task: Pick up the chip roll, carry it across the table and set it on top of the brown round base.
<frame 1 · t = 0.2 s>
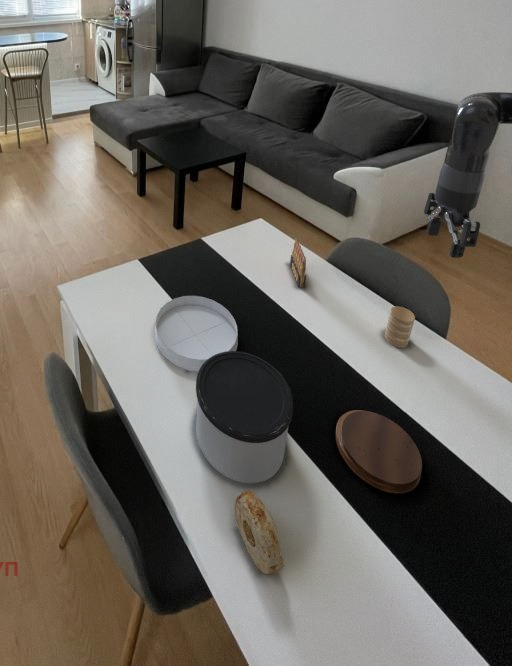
hand: (443, 245, 100), 32 cm above the table, tool pointing down, fingers open, 8 cm apart
brown round base: (375, 454, 88), on the table
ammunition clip: (296, 278, 137), on the table
bagel: (254, 548, 75), on the table
dish: (195, 339, 117), on the table
chip roll: (395, 341, 113), on the table
container: (238, 439, 92), on the table
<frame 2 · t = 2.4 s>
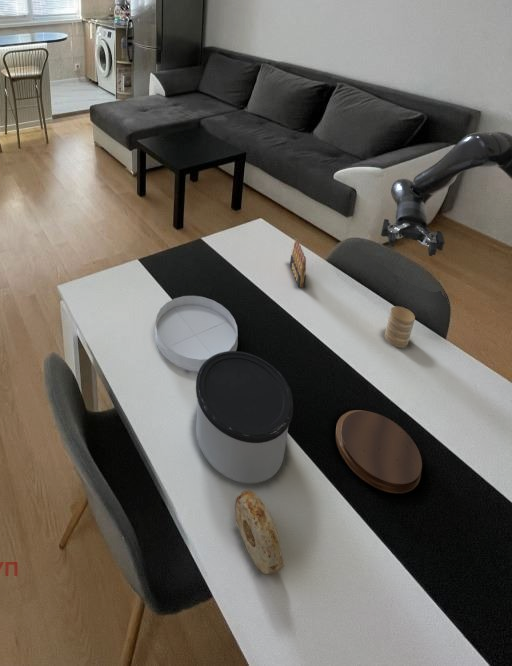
hand: (411, 248, 114), 22 cm above the table, tool horizontal, fingers open, 8 cm apart
nothing on the table moved.
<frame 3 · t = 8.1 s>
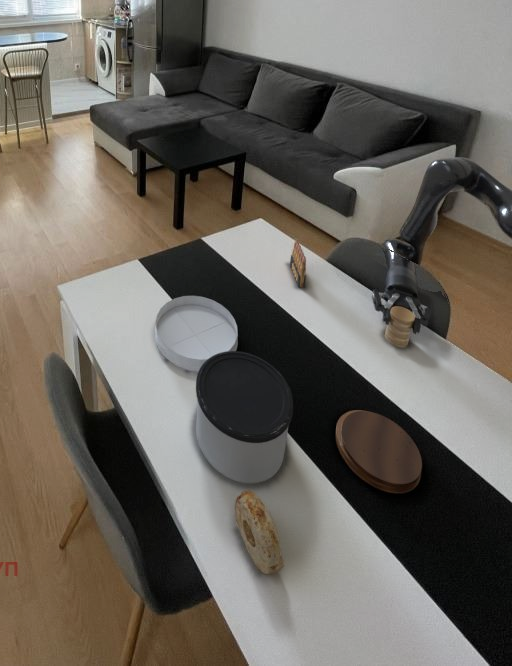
hand: (401, 326, 108), 8 cm above the table, tool horizontal, fingers closed on chip roll, 5 cm apart
chip roll: (395, 341, 113), on the table, touching gripper
everything else where it was.
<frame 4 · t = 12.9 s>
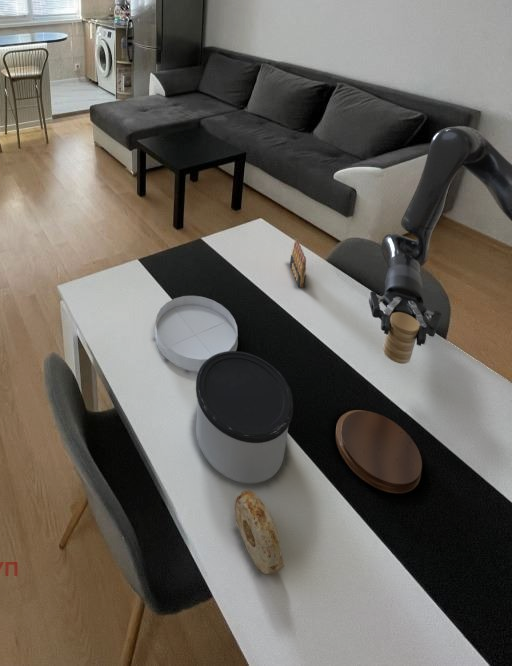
hand: (403, 336, 91), 20 cm above the table, tool horizontal, fingers closed on chip roll, 5 cm apart
chip roll: (396, 353, 95), point 12 cm above the table, touching gripper
everything else where it was.
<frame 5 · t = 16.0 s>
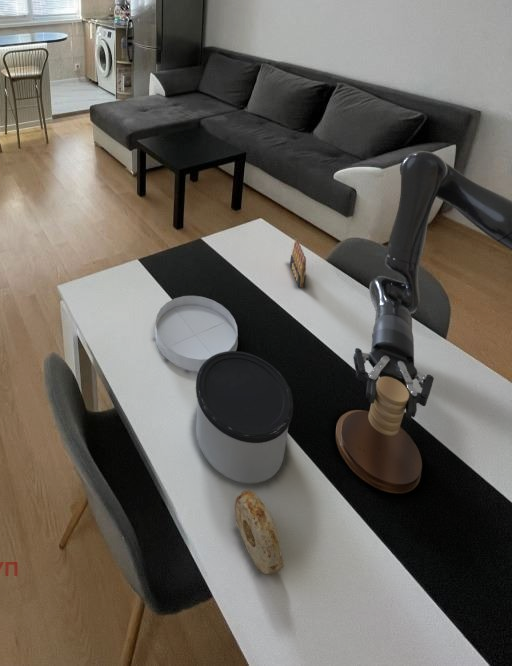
hand: (390, 407, 80), 17 cm above the table, tool horizontal, fingers closed on chip roll, 5 cm apart
chip roll: (383, 422, 84), point 9 cm above the table, touching gripper
everything else where it was.
when the fingers open (11 cm above the table, at t = 18.1 s): chip roll stays where it is, resting on brown round base.
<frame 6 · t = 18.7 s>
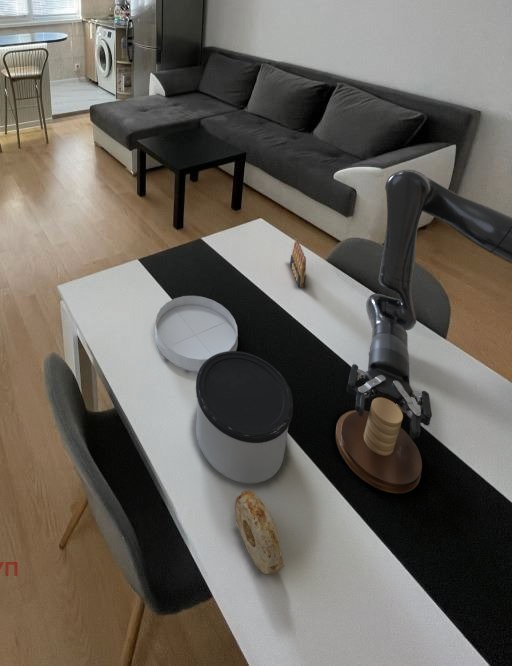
hand: (386, 424, 82), 12 cm above the table, tool horizontal, fingers open, 8 cm apart
chip roll: (378, 442, 87), point 4 cm above the table, touching brown round base
everything else where it was.
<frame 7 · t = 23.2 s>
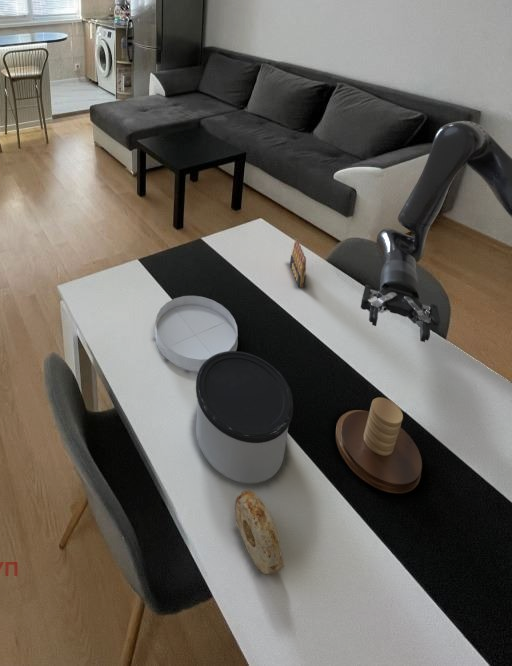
hand: (398, 330, 89), 23 cm above the table, tool horizontal, fingers open, 8 cm apart
nothing on the table moved.
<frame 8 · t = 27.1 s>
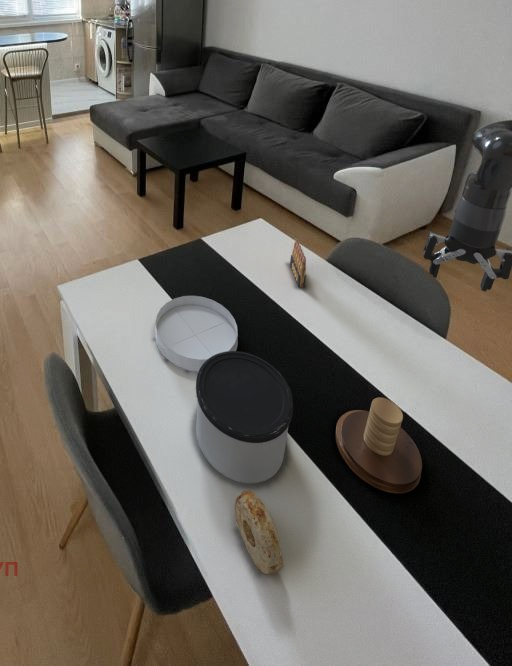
hand: (458, 282, 93), 28 cm above the table, tool pointing down, fingers open, 8 cm apart
nothing on the table moved.
at the end: chip roll inside the target area on the brown round base (0.1 cm from its centre), point 3.6 cm above the brown round base's base; chip roll tilted 0°; the gripper is holding nothing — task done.
